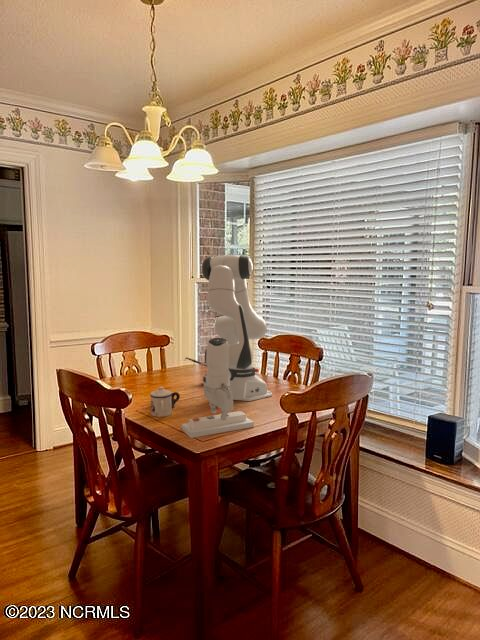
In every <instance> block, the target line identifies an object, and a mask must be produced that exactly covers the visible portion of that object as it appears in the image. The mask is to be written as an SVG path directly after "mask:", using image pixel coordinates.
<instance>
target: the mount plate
mask: <svg viewBox="0 0 480 640" xmlns="http://www.w3.org/2000/svg"><path fill="white" fill-rule="evenodd" d="M254 427H255V421H254V420H252V419H250V417H249V418H248V417H247V416H246V421H240V422H234V423H228V424H222V425H216V426H210V427H204V428H198V429H192V428H191V427H190V426H189V422H187V423H181V430H182V432H184V433H185V434H186V435H187V436H188V437H189V438H190V439H192V438H199V437H204V436H209V435H210V436H211V435H215V434H221V433H227V432H233V431H238V430H243V429H249V428H250V429H251V428H254Z"/></svg>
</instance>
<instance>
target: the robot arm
mask: <svg viewBox="0 0 480 640" xmlns="http://www.w3.org/2000/svg"><path fill="white" fill-rule="evenodd" d="M201 266H202V267H201V272H202V275H203V277H204V279H205V280H207V281H208V283H207V285H208V286H207V302H208V306H209V307H210V308H211V310H213V311H214V312H215V313H216V314H219V315H221V316H218V318H217V319H216V320H215V323H214V330H215V333H216V335H217V336H219V337H214V338H211V339H209V340H208V341H207V344H206V345H207V346H206V349H205V351H204V364H206V365H207V367H206V368H207V370H206V372H207V376H205V375H204V376H202V382H203V396H204V399H206V400H207V401H209V402H208V403H209V407H210V412H211V413H212V414H216V413H217V408H218V409H220V410H221V414H222V415H221V420H226V419H227V413H229V412H231V411H233V410H234V401H235V400H236V401H245V402H251V401H256V400H260V399H266V398H268V397H272V396H273V393H272V391H270V390H268V386H267V383H266V382H265V380H264V379H262V378H261V377H260V376H259V375H257V374H258V373H259V372H260V369H259V368H256V367H253V359H254V357H253V356H254V355H253V351H252V348H251V345H250V340H258V339H262V338H263V337H264V336H265V335H266V333H267V330H268V325H267V323H266V321H265V319H264V318H262V316H260V315H258V314H257V313H256V311H255V310H254V308H253V306H252V305H251V301H250V297H249V292H248V283H247V279H248V278H250V276H252V274H253V269H254V264H253V262H252V259H251V257H250V256H249V255H247V254H226V255H217V256H209V257H207V258H205V259H204V260H203V262H202V265H201ZM256 373H257V374H256Z"/></svg>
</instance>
